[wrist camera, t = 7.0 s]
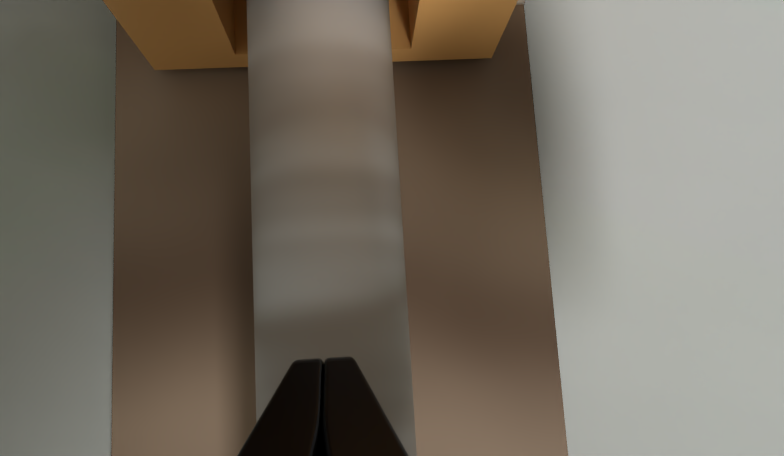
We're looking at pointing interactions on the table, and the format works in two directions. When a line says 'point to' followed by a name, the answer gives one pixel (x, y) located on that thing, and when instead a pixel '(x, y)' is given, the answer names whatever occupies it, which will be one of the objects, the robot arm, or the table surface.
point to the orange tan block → (229, 30)
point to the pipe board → (441, 255)
